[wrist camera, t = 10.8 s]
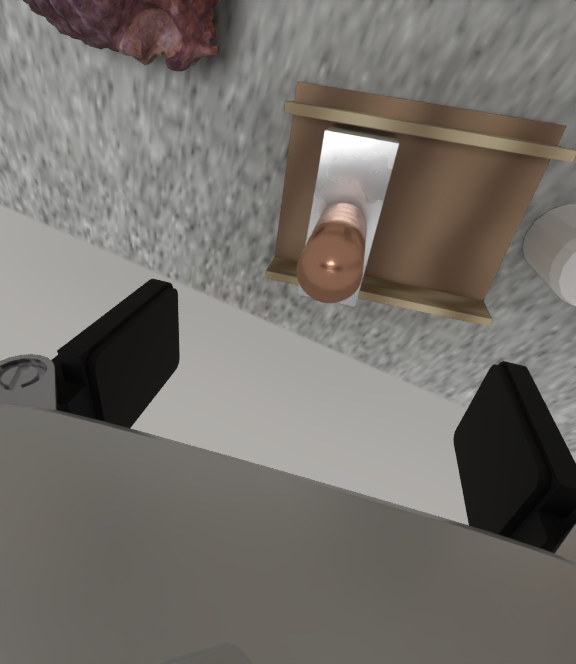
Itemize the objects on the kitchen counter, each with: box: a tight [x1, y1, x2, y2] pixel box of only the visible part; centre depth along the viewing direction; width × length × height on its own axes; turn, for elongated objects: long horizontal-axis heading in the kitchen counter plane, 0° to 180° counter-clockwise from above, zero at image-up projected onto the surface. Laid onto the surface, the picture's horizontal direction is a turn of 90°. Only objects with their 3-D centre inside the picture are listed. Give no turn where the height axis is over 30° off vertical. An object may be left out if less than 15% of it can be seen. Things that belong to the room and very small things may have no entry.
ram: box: [296, 124, 399, 307], centre depth 23 cm, size 4×10×13 cm, turn 172°
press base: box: [265, 82, 576, 326], centre depth 27 cm, size 17×14×4 cm
